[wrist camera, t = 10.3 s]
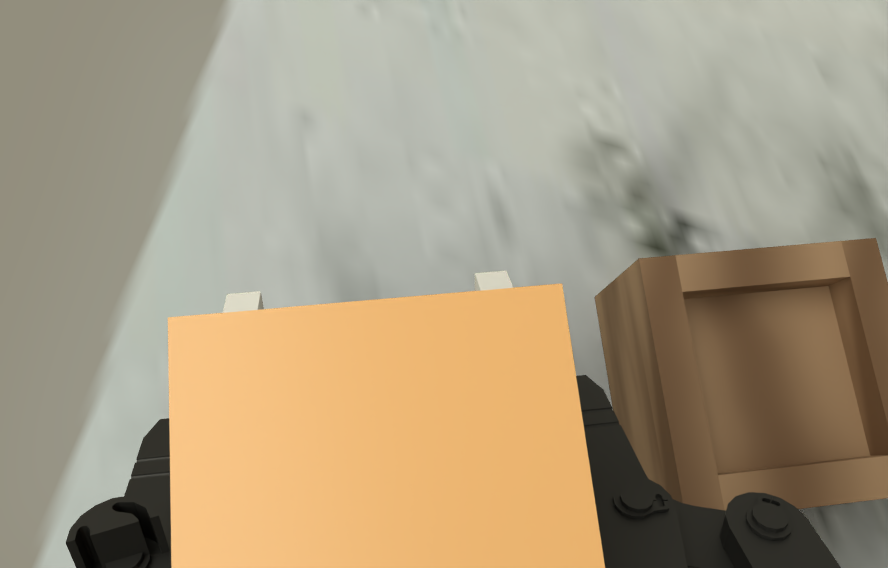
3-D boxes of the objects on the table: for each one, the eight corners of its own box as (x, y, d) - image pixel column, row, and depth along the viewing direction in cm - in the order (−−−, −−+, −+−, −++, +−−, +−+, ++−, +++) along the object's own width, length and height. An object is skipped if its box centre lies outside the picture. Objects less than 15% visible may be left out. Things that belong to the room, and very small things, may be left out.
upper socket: (791, 279, 36) (875, 238, 30) (839, 488, 33) (943, 491, 27) (594, 297, 35) (638, 258, 29) (629, 513, 32) (686, 522, 26)
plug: (465, 387, 21) (562, 283, 9) (486, 570, 20) (626, 706, 8) (290, 405, 21) (167, 317, 9) (301, 593, 19) (173, 773, 8)
